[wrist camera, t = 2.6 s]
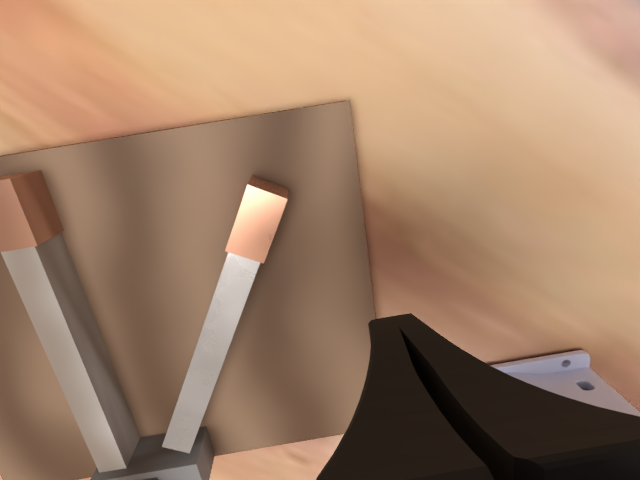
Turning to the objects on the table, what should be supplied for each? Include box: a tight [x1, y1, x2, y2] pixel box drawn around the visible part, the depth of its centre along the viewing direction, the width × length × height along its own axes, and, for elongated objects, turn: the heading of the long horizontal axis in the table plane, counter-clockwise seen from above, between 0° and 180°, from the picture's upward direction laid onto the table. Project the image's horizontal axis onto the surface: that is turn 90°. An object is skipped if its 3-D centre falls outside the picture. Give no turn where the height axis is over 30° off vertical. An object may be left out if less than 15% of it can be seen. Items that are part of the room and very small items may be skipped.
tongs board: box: [0, 101, 376, 480], centre depth 19 cm, size 22×18×5 cm
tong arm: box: [162, 175, 288, 453], centre depth 19 cm, size 14×2×2 cm, turn 159°
